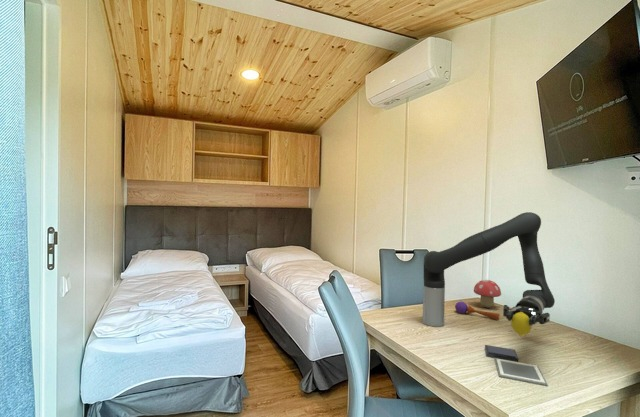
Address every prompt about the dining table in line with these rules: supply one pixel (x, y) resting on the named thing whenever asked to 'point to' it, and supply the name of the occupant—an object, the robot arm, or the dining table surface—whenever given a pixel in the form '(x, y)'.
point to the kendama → (463, 308)
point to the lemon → (521, 323)
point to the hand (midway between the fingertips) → (519, 319)
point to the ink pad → (501, 353)
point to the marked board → (520, 372)
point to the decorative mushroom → (487, 292)
